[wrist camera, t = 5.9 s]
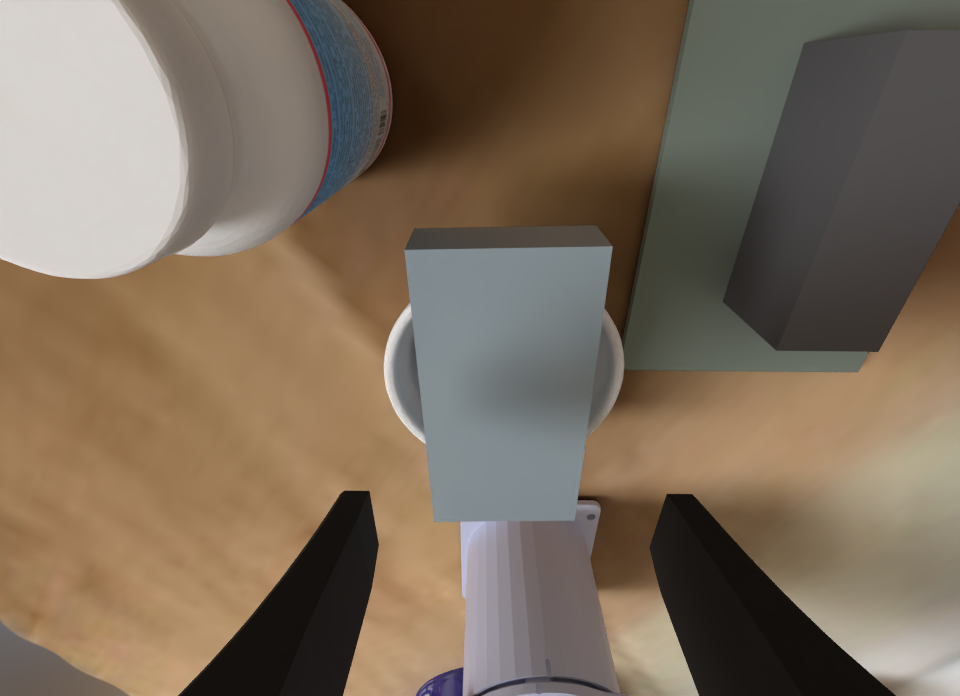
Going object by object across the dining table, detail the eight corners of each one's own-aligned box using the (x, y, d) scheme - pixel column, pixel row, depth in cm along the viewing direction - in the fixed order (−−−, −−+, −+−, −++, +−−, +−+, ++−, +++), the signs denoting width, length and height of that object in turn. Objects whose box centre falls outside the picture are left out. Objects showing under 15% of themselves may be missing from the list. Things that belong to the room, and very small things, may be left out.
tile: (566, 481, 19) (574, 520, 17) (438, 482, 19) (434, 521, 17) (595, 225, 13) (612, 246, 12) (414, 228, 13) (404, 249, 12)
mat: (851, 367, 21) (857, 372, 20) (617, 365, 21) (619, 370, 20) (1096, -103, 13) (1114, -108, 12) (710, -106, 13) (716, -112, 12)
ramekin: (385, 236, 18) (360, 276, 14) (606, 222, 18) (639, 259, 14) (416, 408, 23) (403, 472, 19) (592, 399, 22) (614, 463, 18)
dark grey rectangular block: (805, 302, 19) (878, 351, 15) (722, 301, 19) (776, 350, 15) (914, 44, 14) (1053, 31, 11) (803, 43, 14) (907, 29, 11)
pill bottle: (305, -73, 13) (-193, -511, 3) (430, 120, 16) (345, 181, 6) (175, 63, 15) (-396, 25, 5) (306, 216, 17) (87, 382, 8)
